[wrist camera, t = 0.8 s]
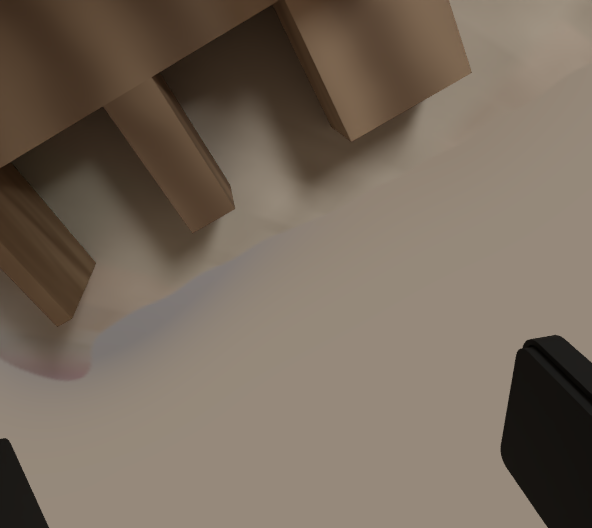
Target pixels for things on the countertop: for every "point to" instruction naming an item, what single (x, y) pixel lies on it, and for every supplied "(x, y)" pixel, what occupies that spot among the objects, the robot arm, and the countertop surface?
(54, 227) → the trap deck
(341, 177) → the countertop surface
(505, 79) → the countertop surface
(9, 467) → the robot arm
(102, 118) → the countertop surface
